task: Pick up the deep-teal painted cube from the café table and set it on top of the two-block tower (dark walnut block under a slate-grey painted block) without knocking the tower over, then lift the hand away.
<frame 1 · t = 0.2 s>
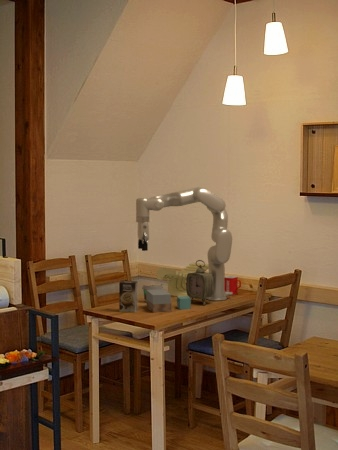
hand: (142, 249, 377), 31 cm above the table, tool pointing down, fingers open, 9 cm apart
slatted curved stool: (183, 295, 405), on the table
top block: (158, 301, 362), point 5 cm above the table
teal cube: (183, 308, 366), on the table
mug: (232, 294, 406), on the table
tabletop clock: (200, 303, 379), on the table
coffee box: (128, 311, 359), on the table
base block: (158, 310, 363), on the table
food container: (154, 302, 382), on the table
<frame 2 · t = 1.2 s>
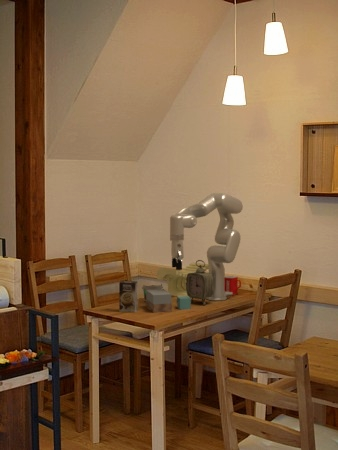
hand: (176, 268, 366), 22 cm above the table, tool pointing down, fingers open, 9 cm apart
top block: (158, 301, 362), point 5 cm above the table, touching base block
base block: (158, 310, 363), on the table, touching top block
everything else where it was.
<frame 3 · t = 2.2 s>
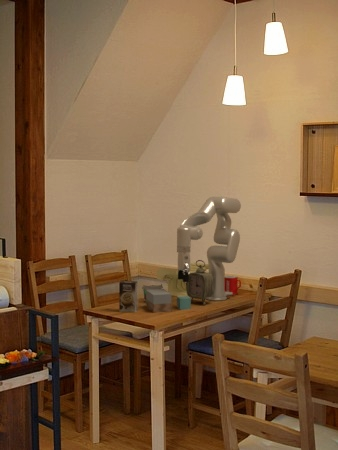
hand: (183, 280, 364), 15 cm above the table, tool pointing down, fingers open, 9 cm apart
nothing on the table moved.
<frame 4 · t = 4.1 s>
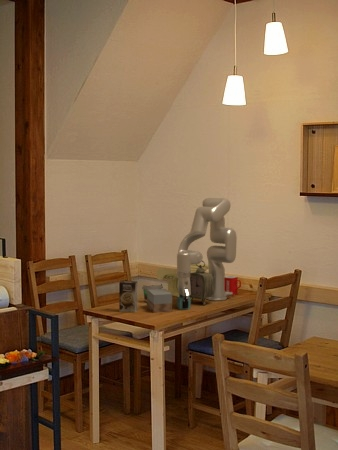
hand: (183, 306, 366), 1 cm above the table, tool pointing down, fingers closed on teal cube, 6 cm apart
teal cube: (183, 308, 366), on the table, touching gripper
everything else where it was.
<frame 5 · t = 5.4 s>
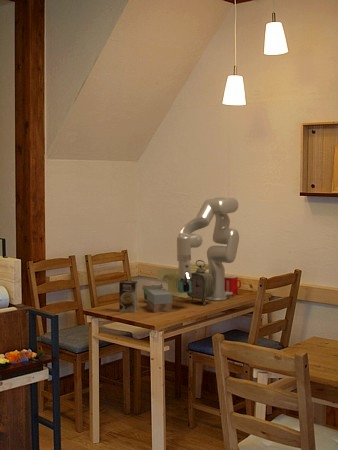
hand: (184, 289, 365), 10 cm above the table, tool pointing down, fingers closed on teal cube, 6 cm apart
teal cube: (184, 291, 365), point 9 cm above the table, touching gripper
everything else where it was.
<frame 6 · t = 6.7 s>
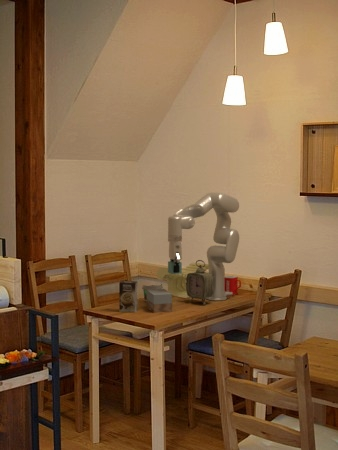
hand: (174, 271, 363), 21 cm above the table, tool pointing down, fingers closed on teal cube, 6 cm apart
top block: (159, 300, 362), point 5 cm above the table
teal cube: (174, 272, 363), point 20 cm above the table, touching gripper
base block: (159, 309, 363), on the table
everything else where it was.
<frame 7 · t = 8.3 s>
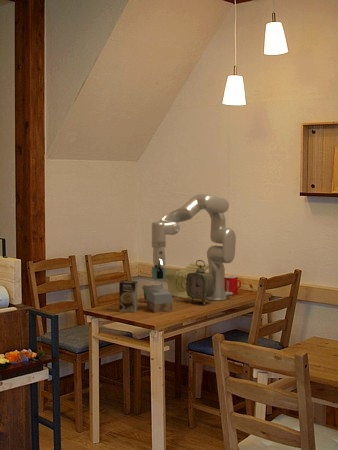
hand: (158, 277, 361), 18 cm above the table, tool pointing down, fingers closed on teal cube, 6 cm apart
top block: (159, 300, 363), point 5 cm above the table, touching base block
teal cube: (158, 278, 361), point 17 cm above the table, touching gripper
base block: (159, 309, 363), on the table, touching top block
everything else where it was.
when the fingers open (12 cm above the table, at t = 10.1 s): teal cube drops 1 cm, resting on top block.
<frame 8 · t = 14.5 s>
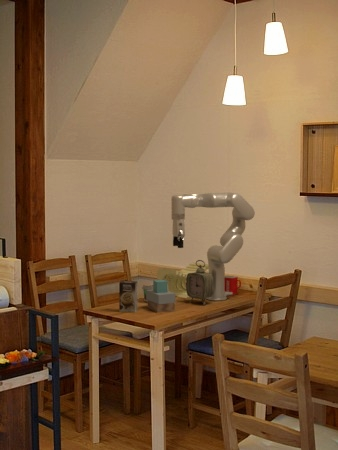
hand: (178, 246, 378), 32 cm above the table, tool pointing down, fingers open, 9 cm apart
top block: (160, 300, 363), point 5 cm above the table, touching base block, teal cube
teal cube: (160, 291, 363), point 10 cm above the table, touching top block
at the end: teal cube inside the target area on the top block (0.4 cm from its centre), point 5.0 cm above the top block's base; top block 0.1 cm from the base block (horizontally); the gripper is holding nothing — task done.
